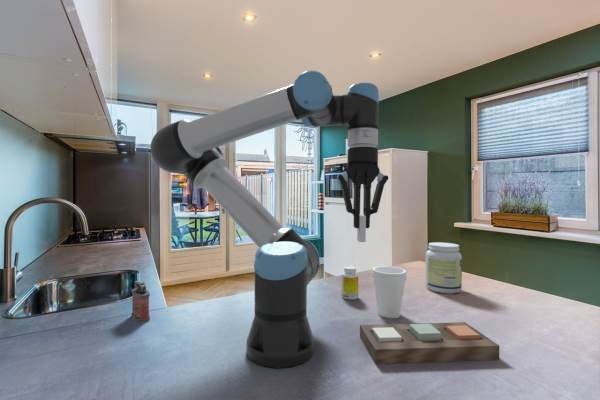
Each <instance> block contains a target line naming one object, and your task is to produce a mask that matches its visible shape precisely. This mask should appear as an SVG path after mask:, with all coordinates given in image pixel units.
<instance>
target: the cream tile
mask: <svg viewBox="0 0 600 400" xmlns="http://www.w3.org/2000/svg"><path fill="white" fill-rule="evenodd" d="M372 334H373V336H374V337H375V339H376V340H377V342H402V337H401V336H400V335H399V334H398V332H397V331H396V330H395V329H394V328H393V327H386V328H372Z"/></svg>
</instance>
